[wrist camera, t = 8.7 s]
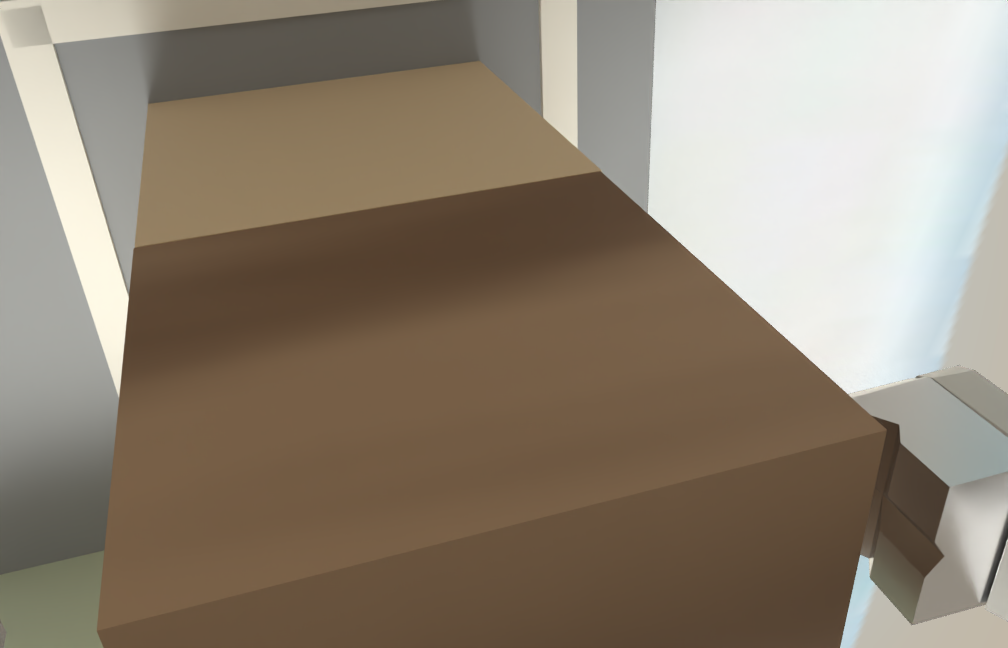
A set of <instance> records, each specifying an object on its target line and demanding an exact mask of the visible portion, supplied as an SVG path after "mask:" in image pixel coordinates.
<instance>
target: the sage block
mask: <svg viewBox="0 0 1008 648" xmlns="http://www.w3.org/2000/svg"><path fill="white" fill-rule="evenodd" d="M103 559H104V551H99V552H95V553H91V554H87V555H82V556H78V557H74V558H70V559H65V560H61V561H57V562H53V563H48V564H44V565H40V566H36V567H31V568H27V569H23V570H19V571H14V572H10V573H6V574H2V575H0V621H1V623H2V625H3V627H4V628H5V630H6V632H7V633H6V638H5V643H4V648H103V645H102V643H101V640H100V638H99V635H98V633H97V621H98V611H99V601H100V590H101V580H102V570H103Z"/></svg>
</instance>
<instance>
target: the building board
mask: <svg viewBox="0 0 1008 648" xmlns="http://www.w3.org/2000/svg"><path fill="white" fill-rule="evenodd" d="M655 9H656V0H0V575H2V574H6V573H10V572H14V571H19V570H23V569H27V568H31V567H36V566H40V565H44V564H48V563H53V562H57V561H61V560H65V559H70V558H74V557H78V556H82V555H87V554H91V553H95V552H99V551H104V549H105V539H106V528H107V518H108V508H109V497H110V487H111V477H112V466H113V456H114V446H115V435H116V425H117V415H118V404H119V394H120V384H121V373H122V363H123V352H124V342H125V332H126V321H127V311H128V301H129V290H130V280H131V270H132V259H133V249H134V248H137V247H143V246H149V245H155V244H161V243H167V242H173V241H179V240H185V239H192V238H198V237H204V236H210V235H216V234H222V233H228V232H234V231H240V230H246V229H252V228H258V227H265V226H271V225H277V224H283V223H289V222H295V221H301V220H307V219H313V218H319V217H325V216H332V215H338V214H344V213H350V212H356V211H362V210H368V209H374V208H380V207H386V206H392V205H399V204H405V203H411V202H417V201H423V200H429V199H435V198H441V197H447V196H453V195H459V194H465V193H472V192H478V191H484V190H490V189H496V188H502V187H508V186H514V185H520V184H526V183H532V182H539V181H545V180H551V179H557V178H563V177H569V176H575V175H581V174H587V173H593V172H599V171H601V172H602V173H603V174H604V175H605V176H607V177H608V178H609V179H610V180H611V181H612V182H613V183H614V184H615V185H616V186H618V187H619V188H620V189H621V190H622V191H623V192H624V193H625V194H626V195H628V196H629V197H630V198H631V199H632V200H633V201H634V202H635V203H636V204H638V205H639V206H640V207H641V208H642V209H643V210H644V211H645V212H646V213H647V214H648V190H649V164H650V138H651V112H652V87H653V61H654V35H655Z"/></svg>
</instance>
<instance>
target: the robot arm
mask: <svg viewBox="0 0 1008 648" xmlns="http://www.w3.org/2000/svg"><path fill="white" fill-rule="evenodd" d="M848 395H849V396H850V397H851V398H852V399H853V400H855V401H856V402H857V403H858V404H859V405H860V406H861V407H862V408H863V409H865V410H866V411H867V412H868V413H869V414H870V415H871V416H872V417H873V418H875V419H876V420H877V421H878V422H879V423H880V424H881V425H882V426H883V427H884V428H886V429H887V432H886V437H885V442H884V446H883V451H882V455H881V460H880V465H879V469H878V474H877V479H876V483H875V488H874V492H873V497H872V502H871V506H870V511H869V515H868V520H867V525H866V529H865V534H864V538H863V543H862V548H861V552H860V555H863V556H865V557H867V558H869V575H870V578H871V580H872V581H873V582H874V583H875V584H876V585H877V586H878V588H879V589H880V590H881V591H882V592H883V593H884V594H885V595H886V596H887V598H888V599H889V600H890V601H891V602H892V603H893V604H894V605H895V607H896V608H897V609H898V610H899V611H900V612H901V613H902V614H903V616H904V617H905V618H906V619H907V620H908V621H909V622H910V623H911V625H915V624H918V623H922V622H925V621H929V620H932V619H936V618H939V617H943V616H947V615H950V614H954V613H957V612H960V611H965V610H968V609H971V608H975V607H978V606H982V605H986V606H985V610H987V611H989V612H991V613H993V614H994V615H996V616H998V617H1000V618H1002V619H1004V620H1006V621H1007V622H1008V394H1007V393H1006V392H1004V391H1003V390H1001V389H1000V388H999V387H997V386H996V385H995V384H993V383H992V382H990V381H989V380H988V379H986V378H985V377H983V376H982V375H981V374H979V373H978V372H976V371H975V370H973V369H969V368H966V367H962V366H959V365H957V366H954V367H950V368H946V369H942V370H938V371H934V372H931V373H927V374H923V375H919V376H917V377H915V378H911V379H906V380H902V381H898V382H894V383H890V384H886V385H882V386H878V387H874V388H870V389H866V390H862V391H858V392H854V393H850V394H848ZM6 633H7V632H6V630H5V628H4V627H3V625H2V623H1V621H0V648H4V643H5V638H6Z"/></svg>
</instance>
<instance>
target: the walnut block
mask: <svg viewBox="0 0 1008 648" xmlns="http://www.w3.org/2000/svg"><path fill="white" fill-rule="evenodd" d="M886 432H887V429H886V428H884V427H883V426H882V425H881V424H880V423H879V422H878V421H877V420H876V419H875V418H873V417H872V416H871V415H870V414H869V413H868V412H867V411H866V410H865V409H863V408H862V407H861V406H860V405H859V404H858V403H857V402H856V401H855V400H853V399H852V398H851V397H850V396H849V395H848V394H847V393H846V392H845V391H843V390H842V389H841V388H840V387H839V386H838V385H837V384H836V383H835V382H834V381H832V380H831V379H830V378H829V377H828V376H827V375H826V374H825V373H824V372H822V371H821V370H820V369H819V368H818V367H817V366H816V365H815V364H814V363H812V362H811V361H810V360H809V359H808V358H807V357H806V356H805V355H804V354H803V353H801V352H800V351H799V350H798V349H797V348H796V347H795V346H794V345H793V344H791V343H790V342H789V341H788V340H787V339H786V338H785V337H784V336H783V335H781V334H780V333H779V332H778V331H777V330H776V329H775V328H774V327H773V326H772V325H770V324H769V323H768V322H767V321H766V320H765V319H764V318H763V317H762V316H760V315H759V314H758V313H757V312H756V311H755V310H754V309H753V308H752V307H750V306H749V305H748V304H747V303H746V302H745V301H744V300H743V299H742V298H741V297H739V296H738V295H737V294H736V293H735V292H734V291H733V290H732V289H731V288H729V287H728V286H727V285H726V284H725V283H724V282H723V281H722V280H721V279H719V278H718V277H717V276H716V275H715V274H714V273H713V272H712V271H711V270H710V269H708V268H707V267H706V266H705V265H704V264H703V263H702V262H701V261H700V260H698V259H697V258H696V257H695V256H694V255H693V254H692V253H691V252H690V251H688V250H687V249H686V248H685V247H684V246H683V245H682V244H681V243H680V242H678V241H677V240H676V239H675V238H674V237H673V236H672V235H671V234H670V233H669V232H667V231H666V230H665V229H664V228H663V227H662V226H661V225H660V224H659V223H657V222H656V221H655V220H654V219H653V218H652V217H651V216H650V215H649V214H647V213H646V212H645V211H644V210H643V209H642V208H641V207H640V206H639V205H638V204H636V203H635V202H634V201H633V200H632V199H631V198H630V197H629V196H628V195H626V194H625V193H624V192H623V191H622V190H621V189H620V188H619V187H618V186H616V185H615V184H614V183H613V182H612V181H611V180H610V179H609V178H608V177H607V176H605V175H604V174H603V173H602V172H601V171H599V172H593V173H587V174H581V175H575V176H569V177H563V178H557V179H551V180H545V181H539V182H532V183H526V184H520V185H514V186H508V187H502V188H496V189H490V190H484V191H478V192H472V193H465V194H459V195H453V196H447V197H441V198H435V199H429V200H423V201H417V202H411V203H405V204H399V205H392V206H386V207H380V208H374V209H368V210H362V211H356V212H350V213H344V214H338V215H332V216H325V217H319V218H313V219H307V220H301V221H295V222H289V223H283V224H277V225H271V226H265V227H258V228H252V229H246V230H240V231H234V232H228V233H222V234H216V235H210V236H204V237H198V238H192V239H185V240H179V241H173V242H167V243H161V244H155V245H149V246H143V247H137V248H134V249H133V259H132V270H131V280H130V290H129V301H128V311H127V321H126V332H125V342H124V352H123V363H122V373H121V384H120V394H119V404H118V415H117V425H116V435H115V446H114V456H113V466H112V477H111V487H110V497H109V508H108V518H107V528H106V539H105V549H104V559H103V570H102V580H101V590H100V601H99V611H98V621H97V633H98V635H99V638H100V640H101V643H102V645H103V648H840V645H841V640H842V635H843V631H844V626H845V622H846V617H847V612H848V608H849V603H850V598H851V594H852V589H853V585H854V580H855V575H856V571H857V566H858V562H859V557H860V552H861V548H862V543H863V538H864V534H865V529H866V525H867V520H868V515H869V511H870V506H871V502H872V497H873V492H874V488H875V483H876V479H877V474H878V469H879V465H880V460H881V455H882V451H883V446H884V442H885V437H886Z"/></svg>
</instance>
